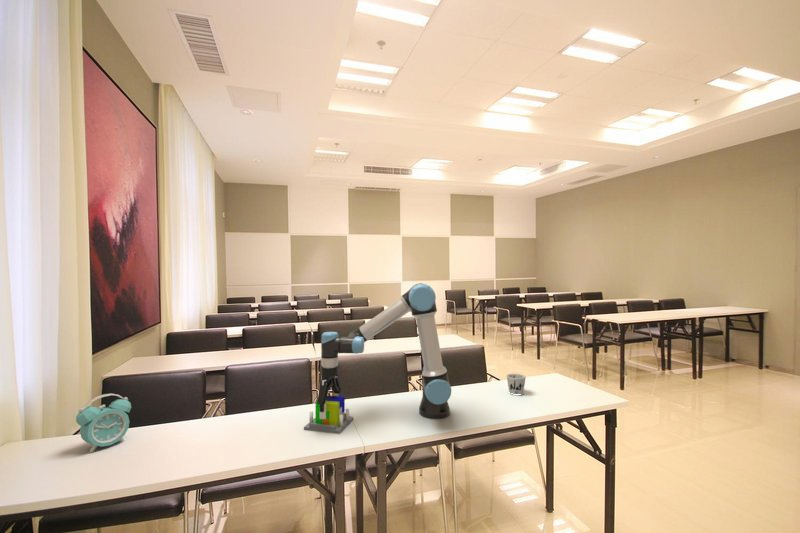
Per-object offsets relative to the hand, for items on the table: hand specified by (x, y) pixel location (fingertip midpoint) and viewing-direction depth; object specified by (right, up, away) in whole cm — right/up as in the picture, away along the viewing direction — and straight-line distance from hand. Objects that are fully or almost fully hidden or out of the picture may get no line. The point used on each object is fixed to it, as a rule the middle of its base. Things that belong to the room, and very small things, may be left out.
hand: (329, 412), depth 165 cm
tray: (0, -5, 0) cm, 5 cm away
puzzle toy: (0, -4, 0) cm, 4 cm away
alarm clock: (-87, -5, -19) cm, 89 cm away
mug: (+99, -6, +44) cm, 109 cm away
